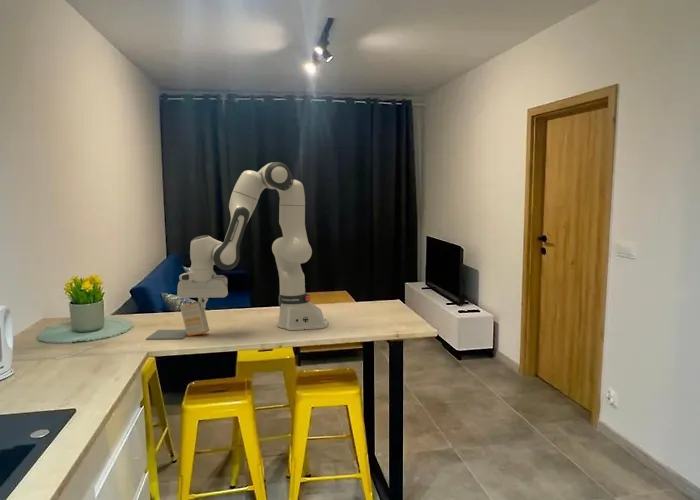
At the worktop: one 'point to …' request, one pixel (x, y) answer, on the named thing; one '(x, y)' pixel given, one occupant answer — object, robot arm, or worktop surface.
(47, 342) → the worktop surface
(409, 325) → the worktop surface
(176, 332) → the rubber mat
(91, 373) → the worktop surface
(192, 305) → the supplement box
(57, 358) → the butter knife
